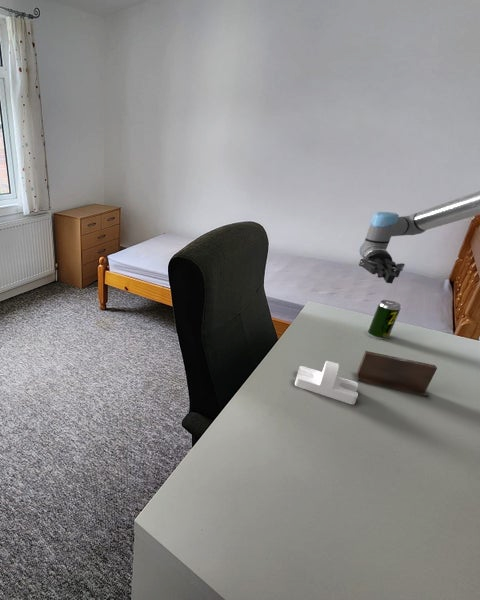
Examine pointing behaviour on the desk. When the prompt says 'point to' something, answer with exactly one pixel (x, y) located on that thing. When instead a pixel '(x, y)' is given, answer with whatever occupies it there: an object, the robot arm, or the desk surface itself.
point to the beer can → (384, 319)
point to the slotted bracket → (327, 383)
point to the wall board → (395, 373)
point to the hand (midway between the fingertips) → (390, 279)
